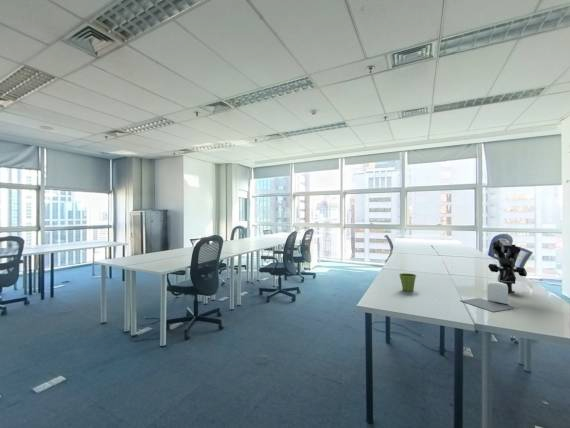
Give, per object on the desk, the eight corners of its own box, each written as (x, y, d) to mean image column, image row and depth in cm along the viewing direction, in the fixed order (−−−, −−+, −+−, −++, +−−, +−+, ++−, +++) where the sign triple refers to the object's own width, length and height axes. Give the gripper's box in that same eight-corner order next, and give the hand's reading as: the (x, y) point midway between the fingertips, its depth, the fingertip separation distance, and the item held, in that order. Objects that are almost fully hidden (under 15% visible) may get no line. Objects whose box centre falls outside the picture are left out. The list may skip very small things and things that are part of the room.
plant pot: (414, 288, 196) (414, 273, 196) (418, 292, 184) (418, 276, 184) (397, 287, 199) (397, 272, 199) (400, 292, 187) (400, 276, 187)
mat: (479, 298, 169) (479, 298, 169) (513, 308, 150) (513, 308, 150) (460, 301, 165) (460, 300, 165) (493, 312, 146) (493, 311, 146)
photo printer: (486, 300, 164) (486, 280, 165) (488, 299, 167) (488, 280, 168) (507, 304, 156) (507, 283, 157) (508, 303, 159) (509, 283, 160)
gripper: (489, 251, 177) (481, 269, 171) (524, 255, 161) (518, 275, 155) (494, 262, 181) (487, 280, 175) (529, 266, 165) (523, 286, 159)
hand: (503, 280), depth 166 cm, fingers closed
